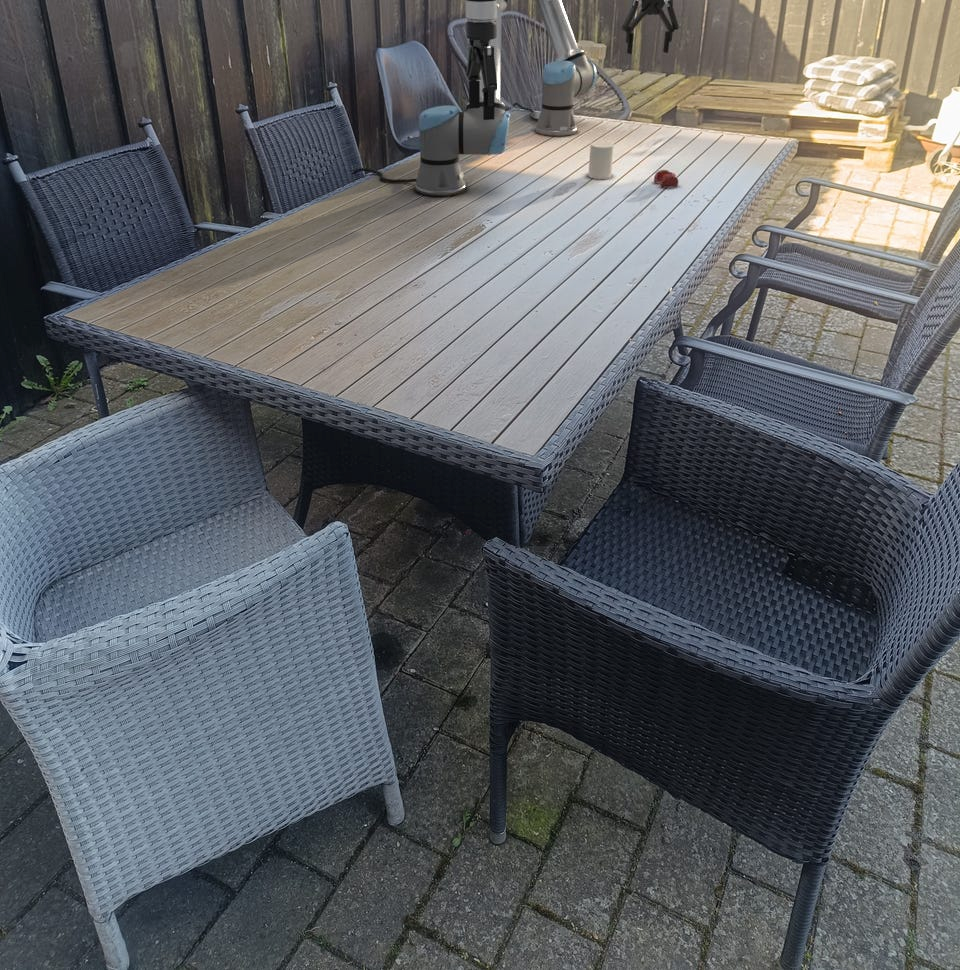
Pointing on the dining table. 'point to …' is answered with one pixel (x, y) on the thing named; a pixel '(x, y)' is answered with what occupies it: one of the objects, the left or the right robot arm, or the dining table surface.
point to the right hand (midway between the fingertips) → (647, 53)
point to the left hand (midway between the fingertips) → (481, 113)
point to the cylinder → (600, 160)
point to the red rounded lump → (666, 178)
